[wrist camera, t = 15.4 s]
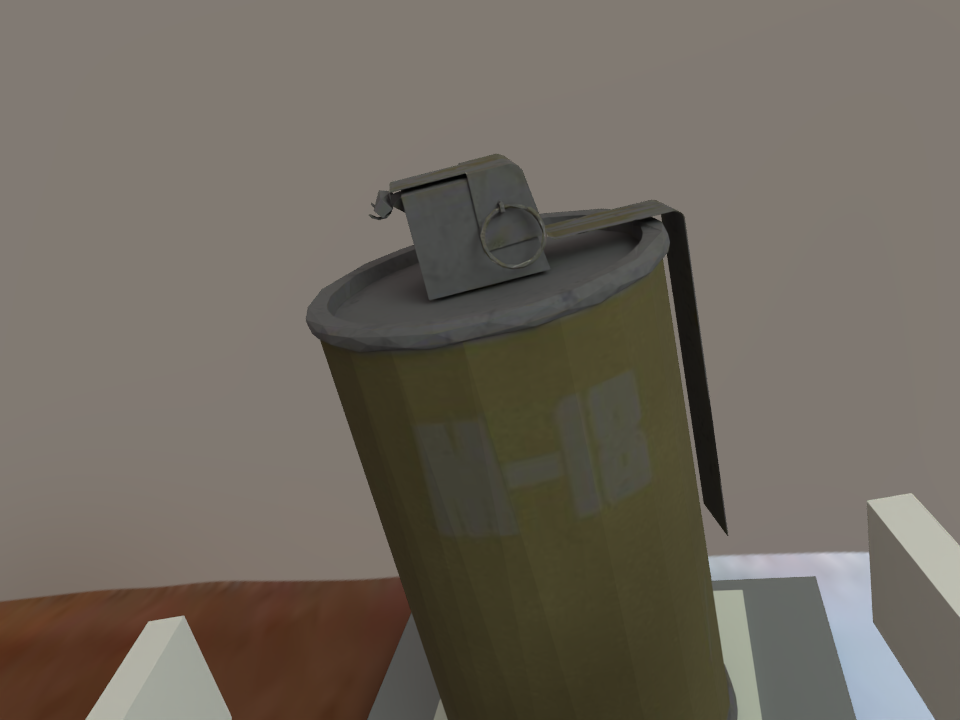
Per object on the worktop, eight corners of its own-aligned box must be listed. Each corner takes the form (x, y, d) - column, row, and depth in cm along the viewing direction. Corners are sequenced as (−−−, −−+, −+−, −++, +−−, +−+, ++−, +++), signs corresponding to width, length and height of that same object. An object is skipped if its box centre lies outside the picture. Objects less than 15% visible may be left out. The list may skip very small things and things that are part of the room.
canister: (464, 886, 23) (235, 257, 16) (444, 646, 32) (298, 191, 25) (809, 794, 23) (738, 127, 16) (687, 583, 33) (609, 111, 25)
